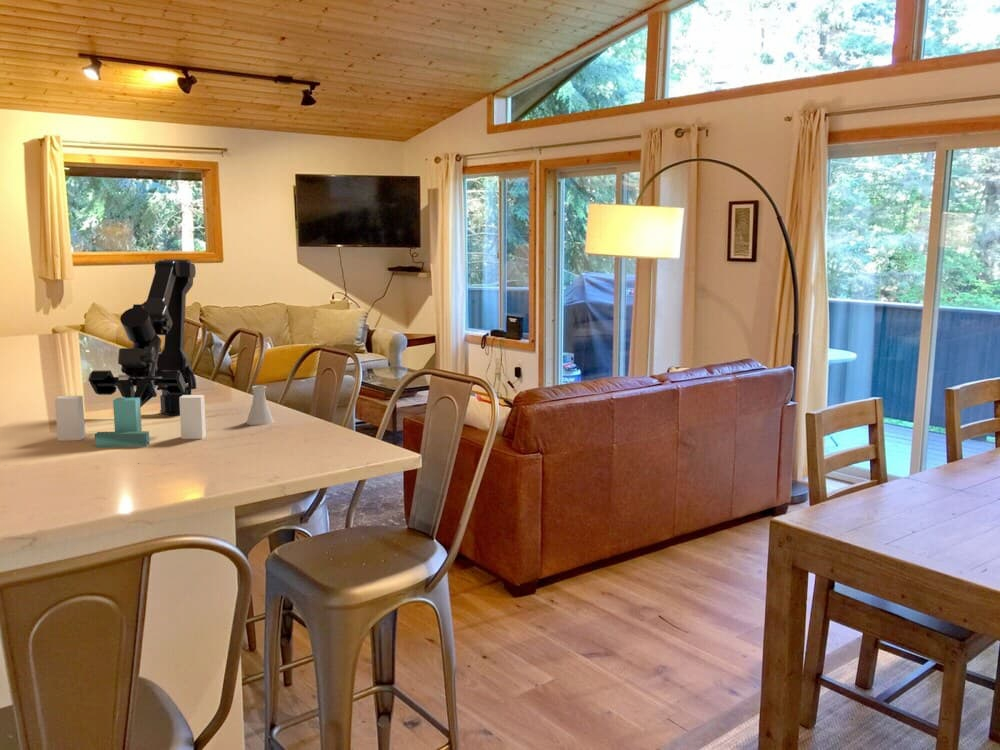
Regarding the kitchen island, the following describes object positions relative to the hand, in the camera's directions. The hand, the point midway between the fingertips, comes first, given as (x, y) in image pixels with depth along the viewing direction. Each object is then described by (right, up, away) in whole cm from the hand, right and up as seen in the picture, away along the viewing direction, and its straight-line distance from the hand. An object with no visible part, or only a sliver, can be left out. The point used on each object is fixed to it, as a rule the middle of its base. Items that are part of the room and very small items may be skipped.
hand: (130, 414), depth 172 cm
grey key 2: (+12, -5, +3) cm, 14 cm away
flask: (+22, -4, +19) cm, 29 cm away
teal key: (0, -5, -1) cm, 6 cm away
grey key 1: (-13, -5, 0) cm, 14 cm away
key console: (0, -7, -1) cm, 7 cm away
